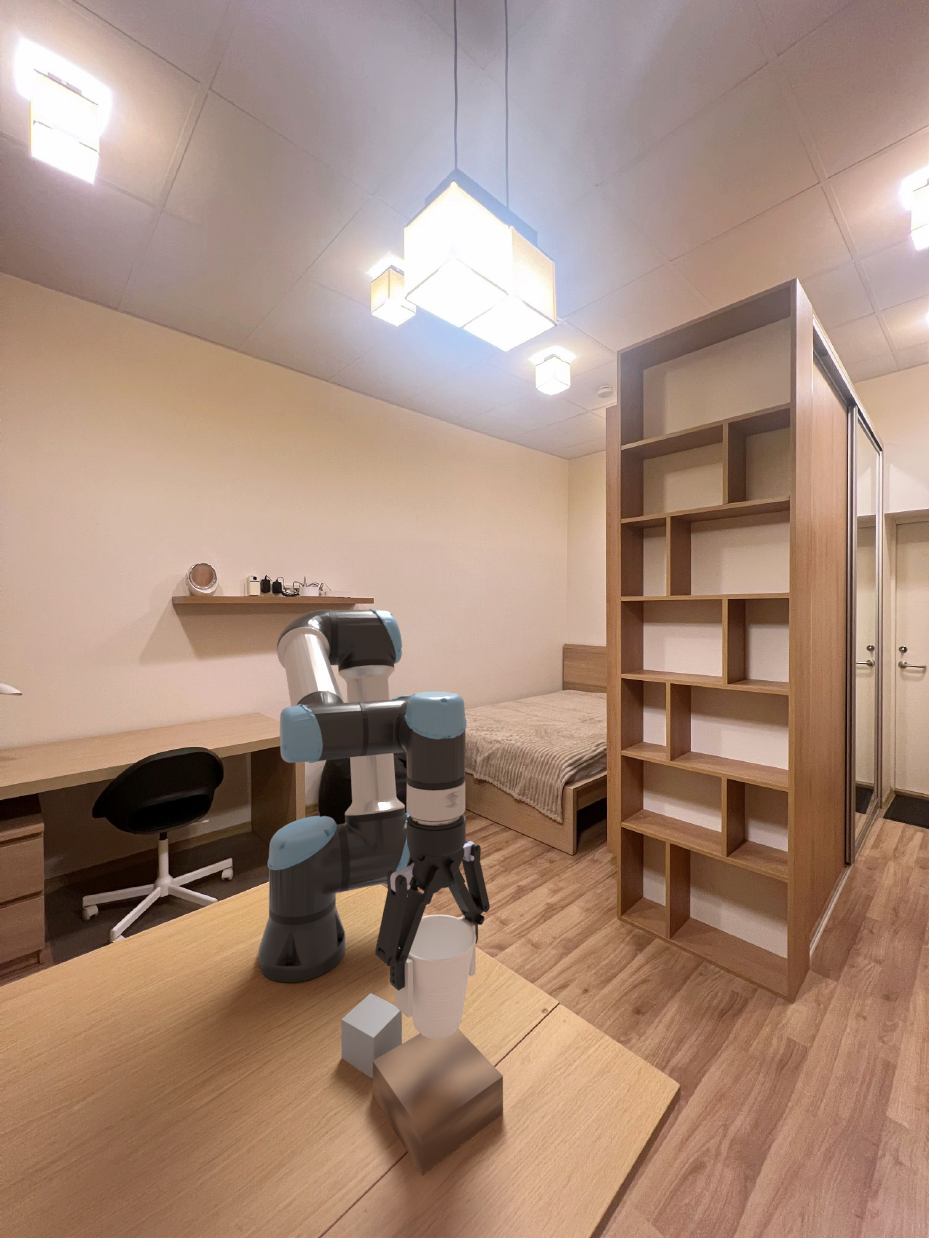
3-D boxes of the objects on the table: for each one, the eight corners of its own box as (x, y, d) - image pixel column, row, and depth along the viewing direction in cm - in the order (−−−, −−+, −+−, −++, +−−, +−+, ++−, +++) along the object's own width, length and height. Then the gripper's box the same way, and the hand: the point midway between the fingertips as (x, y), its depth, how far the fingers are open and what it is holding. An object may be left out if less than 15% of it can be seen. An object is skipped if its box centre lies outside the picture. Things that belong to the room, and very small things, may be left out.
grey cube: (341, 1061, 72) (341, 1019, 72) (370, 1032, 78) (370, 992, 78) (373, 1082, 69) (373, 1037, 69) (401, 1050, 74) (401, 1008, 74)
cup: (467, 1061, 60) (467, 966, 60) (387, 1046, 62) (387, 955, 62) (482, 999, 70) (482, 918, 70) (411, 989, 72) (411, 910, 72)
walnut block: (372, 1098, 67) (372, 1060, 67) (447, 1051, 74) (447, 1017, 74) (422, 1178, 58) (422, 1133, 58) (503, 1115, 65) (502, 1075, 65)
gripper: (379, 850, 56) (379, 1057, 55) (516, 800, 71) (516, 963, 71) (343, 830, 61) (344, 1018, 61) (478, 787, 76) (478, 938, 76)
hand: (436, 988), depth 66 cm, fingers closed on cup, 10 cm apart
